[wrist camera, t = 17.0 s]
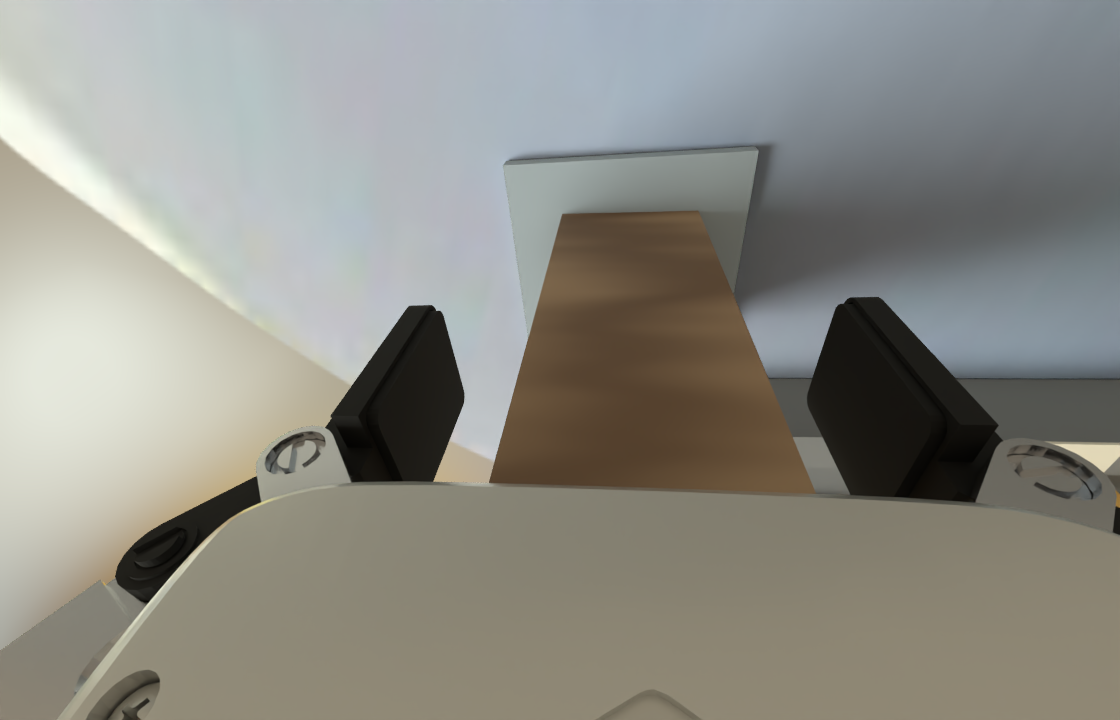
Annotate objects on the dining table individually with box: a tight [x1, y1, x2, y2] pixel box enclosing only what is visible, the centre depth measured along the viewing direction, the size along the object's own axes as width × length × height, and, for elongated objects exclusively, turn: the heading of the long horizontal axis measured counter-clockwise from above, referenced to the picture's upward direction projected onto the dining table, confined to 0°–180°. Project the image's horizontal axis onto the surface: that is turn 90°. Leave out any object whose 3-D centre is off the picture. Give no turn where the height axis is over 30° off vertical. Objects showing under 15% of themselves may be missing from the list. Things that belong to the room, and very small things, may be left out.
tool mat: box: [503, 146, 759, 338], centre depth 15 cm, size 7×7×1 cm
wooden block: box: [489, 211, 816, 494], centre depth 11 cm, size 4×4×10 cm
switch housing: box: [769, 379, 1120, 495], centre depth 17 cm, size 18×6×3 cm, turn 94°
